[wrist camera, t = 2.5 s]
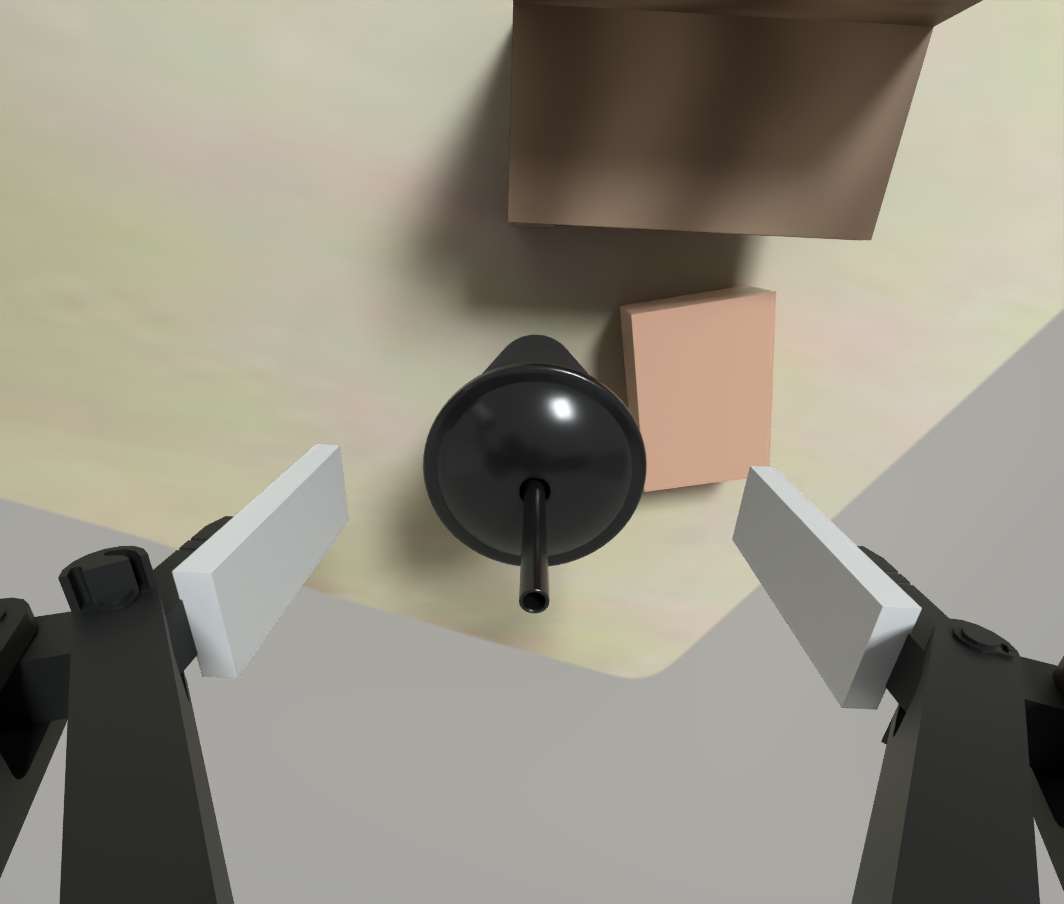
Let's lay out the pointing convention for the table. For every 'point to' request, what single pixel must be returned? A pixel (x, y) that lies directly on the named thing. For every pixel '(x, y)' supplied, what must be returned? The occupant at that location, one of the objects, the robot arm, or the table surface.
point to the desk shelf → (712, 112)
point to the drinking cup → (534, 463)
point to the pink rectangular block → (701, 383)
